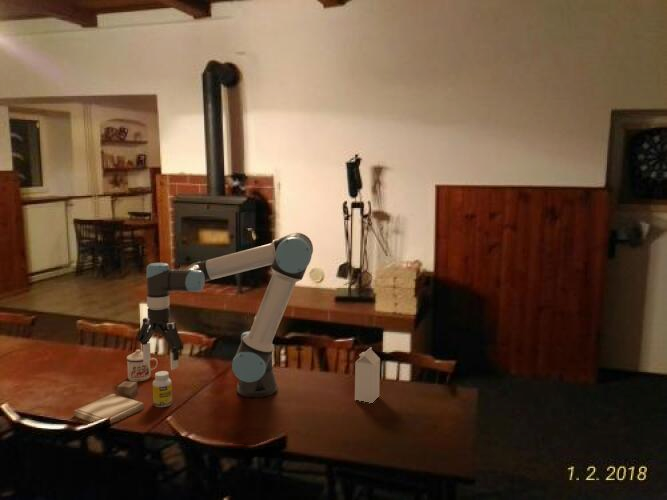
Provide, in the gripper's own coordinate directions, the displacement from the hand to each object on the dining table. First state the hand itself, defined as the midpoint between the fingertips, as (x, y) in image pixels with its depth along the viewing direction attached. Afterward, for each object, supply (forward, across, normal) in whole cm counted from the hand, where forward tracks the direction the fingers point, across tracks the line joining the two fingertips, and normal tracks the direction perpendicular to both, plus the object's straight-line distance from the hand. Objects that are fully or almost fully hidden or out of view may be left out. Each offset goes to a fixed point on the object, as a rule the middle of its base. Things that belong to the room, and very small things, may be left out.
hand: (160, 364), depth 192 cm
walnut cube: (+15, +16, +2) cm, 22 cm away
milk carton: (+14, -62, -41) cm, 76 cm away
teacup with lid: (+15, +26, -14) cm, 33 cm away
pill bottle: (+15, 0, 0) cm, 15 cm away
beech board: (+15, +11, +14) cm, 23 cm away
